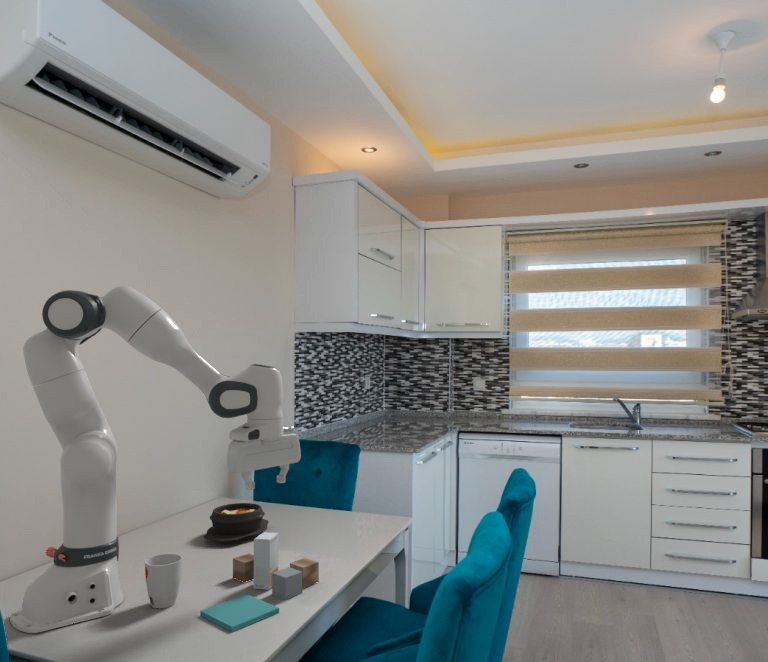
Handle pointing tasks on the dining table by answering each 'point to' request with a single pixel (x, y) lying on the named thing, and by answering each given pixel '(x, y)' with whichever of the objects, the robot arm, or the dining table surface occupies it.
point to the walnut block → (243, 567)
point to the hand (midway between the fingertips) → (266, 485)
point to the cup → (163, 579)
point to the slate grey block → (287, 583)
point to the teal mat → (239, 612)
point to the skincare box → (265, 559)
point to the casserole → (236, 522)
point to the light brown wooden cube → (307, 571)
